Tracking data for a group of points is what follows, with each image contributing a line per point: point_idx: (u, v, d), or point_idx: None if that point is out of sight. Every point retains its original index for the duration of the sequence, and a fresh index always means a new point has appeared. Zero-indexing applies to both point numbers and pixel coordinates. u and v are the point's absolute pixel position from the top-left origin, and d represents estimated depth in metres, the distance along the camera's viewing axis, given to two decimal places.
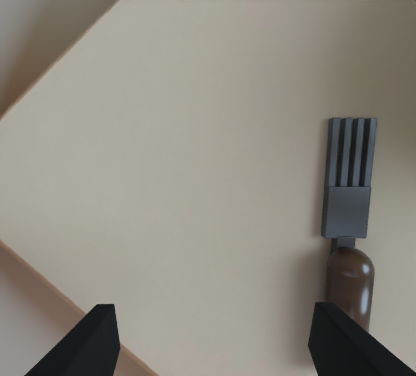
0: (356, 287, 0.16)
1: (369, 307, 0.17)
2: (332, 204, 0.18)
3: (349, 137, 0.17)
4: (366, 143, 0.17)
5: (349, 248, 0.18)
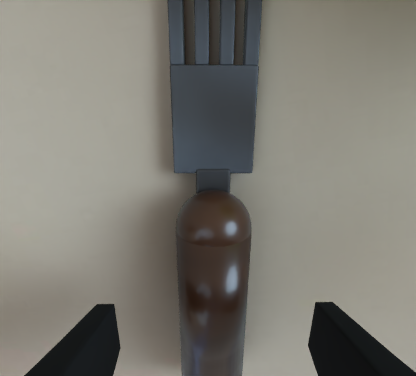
0: (204, 263, 0.08)
1: (236, 297, 0.09)
2: (180, 104, 0.09)
3: None
4: None
5: (212, 191, 0.09)
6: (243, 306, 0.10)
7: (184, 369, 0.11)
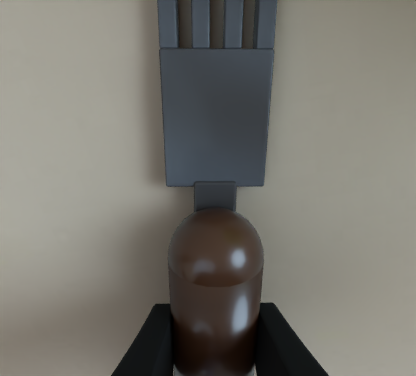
0: (203, 307, 0.06)
1: (244, 345, 0.07)
2: (173, 99, 0.07)
3: None
4: None
5: (213, 210, 0.07)
6: (252, 353, 0.08)
7: None
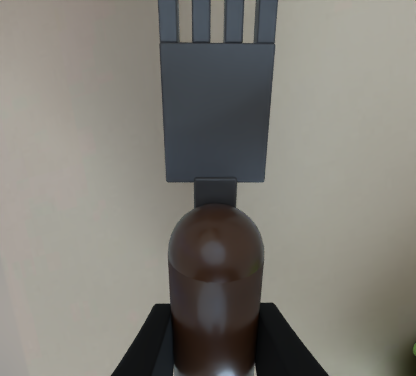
0: (204, 303, 0.06)
1: (244, 342, 0.07)
2: (173, 94, 0.07)
3: None
4: None
5: (214, 205, 0.07)
6: (253, 350, 0.08)
7: None
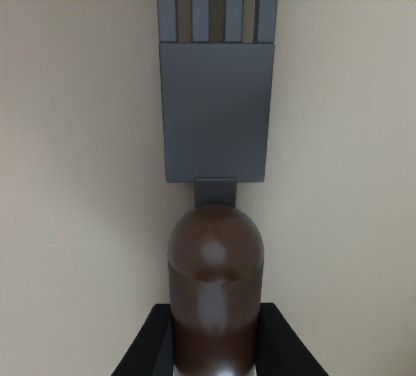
0: (203, 303, 0.06)
1: (244, 342, 0.07)
2: (172, 94, 0.07)
3: None
4: None
5: (213, 205, 0.07)
6: (253, 350, 0.08)
7: None
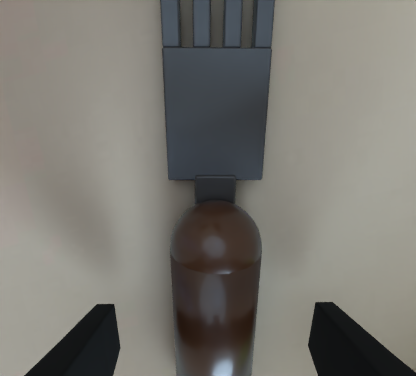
0: (204, 293, 0.07)
1: (242, 331, 0.07)
2: (175, 96, 0.07)
3: None
4: None
5: (213, 202, 0.08)
6: (251, 339, 0.08)
7: None
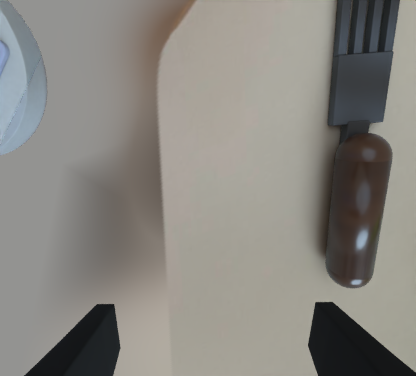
0: (370, 173, 0.14)
1: (383, 198, 0.14)
2: (342, 79, 0.14)
3: None
4: None
5: (362, 133, 0.15)
6: (383, 207, 0.15)
7: (338, 258, 0.16)
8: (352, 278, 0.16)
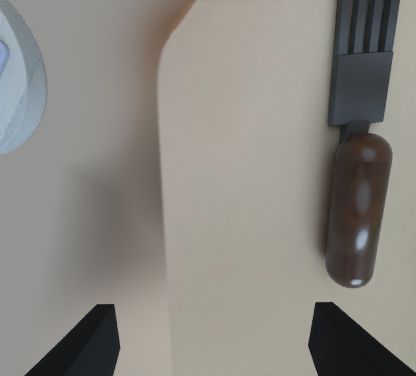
0: (370, 173, 0.14)
1: (383, 198, 0.14)
2: (342, 79, 0.14)
3: None
4: None
5: (362, 133, 0.15)
6: (383, 207, 0.15)
7: (338, 258, 0.16)
8: (352, 278, 0.16)
